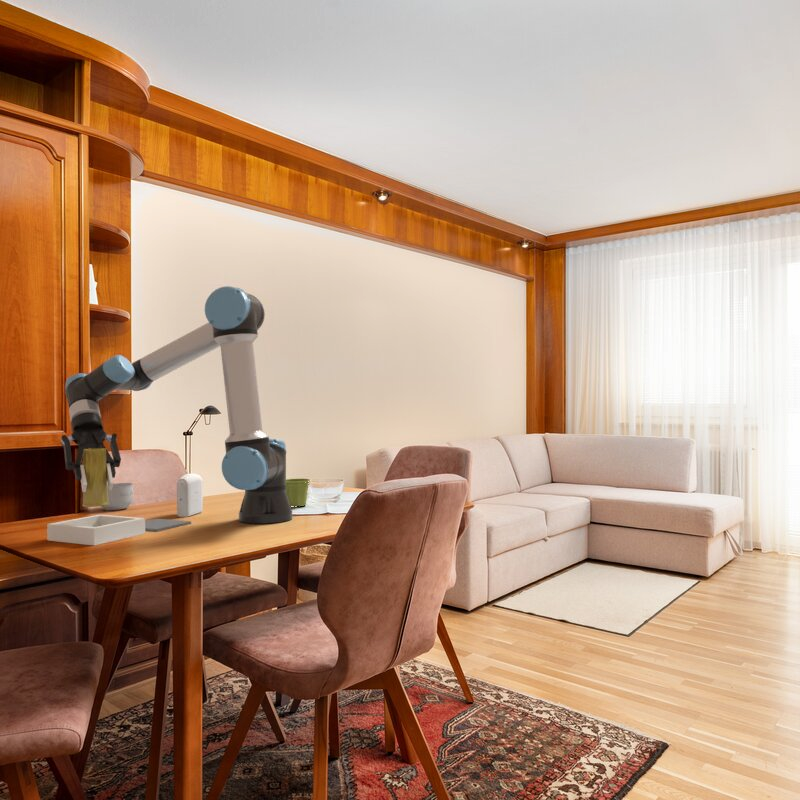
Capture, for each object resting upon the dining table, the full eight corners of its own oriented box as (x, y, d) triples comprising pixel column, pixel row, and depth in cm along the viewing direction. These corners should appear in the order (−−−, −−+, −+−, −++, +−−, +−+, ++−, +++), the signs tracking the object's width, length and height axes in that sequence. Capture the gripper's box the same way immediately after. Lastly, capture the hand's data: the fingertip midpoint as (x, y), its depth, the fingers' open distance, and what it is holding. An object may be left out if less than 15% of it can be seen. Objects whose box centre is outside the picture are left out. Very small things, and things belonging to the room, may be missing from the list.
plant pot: (277, 508, 218) (277, 481, 218) (287, 504, 228) (287, 478, 228) (305, 509, 217) (305, 481, 217) (314, 504, 226) (314, 478, 226)
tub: (145, 533, 176) (145, 518, 176) (94, 545, 162) (94, 528, 162) (100, 529, 183) (100, 514, 183) (47, 540, 168) (47, 524, 168)
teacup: (124, 511, 214) (124, 486, 214) (90, 511, 214) (90, 486, 214) (142, 505, 228) (142, 481, 228) (110, 505, 228) (110, 481, 228)
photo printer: (188, 517, 202) (187, 475, 202) (174, 517, 203) (174, 475, 203) (204, 512, 212) (204, 472, 212) (192, 511, 213) (191, 472, 213)
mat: (191, 523, 191) (191, 521, 191) (156, 531, 179) (156, 529, 179) (155, 520, 196) (155, 518, 196) (120, 528, 185) (120, 525, 185)
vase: (76, 506, 171) (75, 449, 171) (95, 503, 176) (94, 447, 177) (95, 507, 169) (95, 449, 169) (114, 504, 174) (113, 448, 174)
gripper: (120, 429, 191) (134, 493, 177) (46, 431, 180) (55, 500, 167) (124, 410, 186) (139, 475, 172) (48, 411, 176) (58, 480, 162)
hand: (98, 487), depth 169 cm, fingers closed on vase, 5 cm apart
